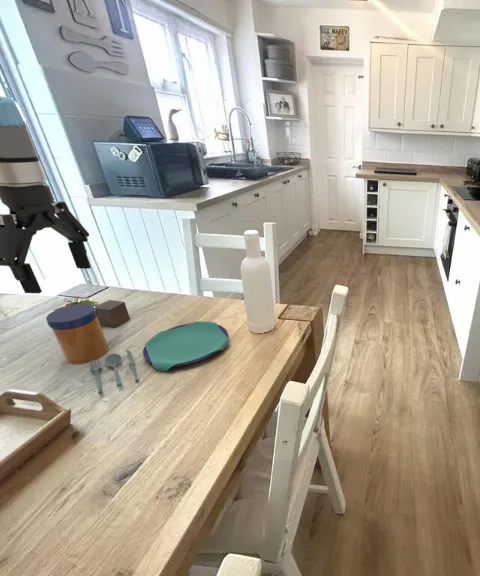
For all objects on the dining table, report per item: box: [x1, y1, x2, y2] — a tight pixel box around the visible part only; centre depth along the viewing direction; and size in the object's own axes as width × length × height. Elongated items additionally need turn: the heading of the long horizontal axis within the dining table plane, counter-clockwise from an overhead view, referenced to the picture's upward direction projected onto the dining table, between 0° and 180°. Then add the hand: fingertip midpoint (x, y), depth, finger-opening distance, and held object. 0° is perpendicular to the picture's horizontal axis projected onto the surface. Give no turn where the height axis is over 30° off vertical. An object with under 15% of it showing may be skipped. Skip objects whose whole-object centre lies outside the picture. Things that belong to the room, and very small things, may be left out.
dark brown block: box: [95, 299, 131, 329], centre depth 95 cm, size 5×5×6 cm
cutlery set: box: [90, 320, 230, 396], centre depth 84 cm, size 20×30×2 cm, turn 132°
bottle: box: [239, 229, 276, 334], centre depth 92 cm, size 8×8×30 cm
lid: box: [45, 304, 97, 330], centre depth 78 cm, size 9×9×2 cm
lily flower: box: [53, 295, 99, 311], centre depth 99 cm, size 12×12×5 cm
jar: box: [51, 317, 110, 365], centre depth 80 cm, size 8×8×12 cm
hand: (61, 279), depth 74 cm, fingers open, 13 cm apart
